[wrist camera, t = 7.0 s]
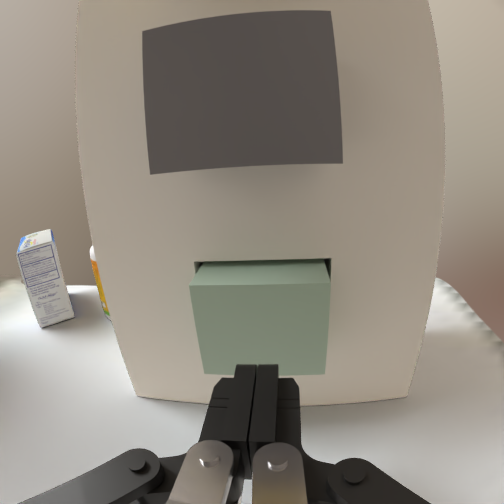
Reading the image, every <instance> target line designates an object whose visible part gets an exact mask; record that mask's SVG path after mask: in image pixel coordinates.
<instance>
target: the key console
mask: <svg viewBox="0 0 504 504" xmlns="http://www.w3.org/2000/svg"><path fill="white" fill-rule="evenodd" d="M287 10H323V11H331V16H332V24H333V32H334V40H335V49H336V58H337V69H338V80H339V92H340V107H341V124H342V146H343V164H286V165H262V166H244V167H228V168H215V169H202V170H191V171H181V172H171V173H162V174H153V175H150V169H149V159H148V148H147V137H146V123H145V108H144V89H143V58H142V31H145V30H149V29H153V28H157V27H161V26H166V25H170V24H175V23H180V22H185V21H191V20H196V19H202V18H209V17H215V16H223V15H231V14H240V13H251V12H265V11H287ZM75 53H76V54H75V97H76V120H77V134H78V147H79V158H80V166H81V175H82V183H83V190H84V197H85V203H86V209H87V216H88V221H89V228H90V233H91V238H92V243H93V248H94V253H95V258H96V262H97V267H98V271H99V275H100V279H101V284H102V288H103V292H104V295H105V299H106V303H107V307H108V310H109V314H110V317H111V321H112V324H113V328H114V331H115V334H116V337H117V341H118V344H119V347H120V350H121V353H122V356H123V359H124V362H125V365H126V368H127V371H128V374H129V376H130V379H131V382H132V385H133V387H134V390H135V392H136V395H137V396H140V397H147V398H155V399H163V400H171V401H181V402H191V403H203V404H209V402H210V399H211V395H212V392H213V388H214V386H215V385H216V384H217V383H218V381H219V380H220V379H221V378H222V377H224V378H234V375H217V374H204V369H203V364H202V359H201V354H200V348H199V343H198V337H197V332H196V326H195V320H194V314H193V308H192V302H191V296H190V289H189V284H190V283H191V281H192V280H193V278H194V276H195V275H196V273H197V272H198V270H199V268H200V267H201V265H202V264H203V262H204V261H244V260H283V259H319V258H323V259H324V262H325V265H326V269H327V272H328V275H329V278H330V282H331V291H330V311H329V328H328V343H327V356H326V367H325V374H321V375H290V376H279V378H294V380H295V381H296V383H297V385H298V386H299V392H300V406H313V405H333V404H347V403H359V402H369V401H379V400H387V399H395V398H402V397H407V394H408V391H409V388H410V385H411V381H412V378H413V375H414V371H415V368H416V364H417V360H418V357H419V353H420V349H421V345H422V341H423V337H424V333H425V328H426V324H427V319H428V315H429V310H430V305H431V299H432V294H433V288H434V282H435V276H436V270H437V263H438V255H439V248H440V239H441V229H442V218H443V204H444V186H445V123H444V107H443V92H442V82H441V73H440V64H439V57H438V50H437V44H436V38H435V32H434V27H433V21H432V17H431V12H430V7H429V3H428V0H79V5H78V16H77V30H76V52H75Z"/></svg>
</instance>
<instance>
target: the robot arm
mask: <svg viewBox="0 0 504 504" xmlns="http://www.w3.org/2000/svg"><path fill="white" fill-rule="evenodd" d="M252 472H253V479H252ZM244 479H252V504H431V503H429V502H427V501H426V500H424V499H423V498H421V497H420V496H418V495H417V494H415V493H414V492H412V491H410V490H409V489H407V488H406V487H404V486H403V485H402V484H400V483H399V482H397V481H396V480H394V479H393V478H391V477H390V476H388V475H387V474H386V473H384V472H383V471H381V470H380V469H379V468H377V467H376V466H374V465H373V464H372V463H370V462H368V461H366V460H364V459H360V458H349V459H345V460H342V461H340V462H338V463H337V464H330V463H325V462H320V461H317V460H315V459H313V458H311V457H309V456H308V455H307V454H306V453H305V452H304V450H303V448H302V445H301V421H300V392H299V386H298V385H297V383H296V381H295V380H294V378H279V365H278V364H258V367H257V364H237V365H236V368H235V373H234V378H224V377H222V378H221V379H220V380H219V381H218V383H217V384H216V385H215V386H214V388H213V392H212V395H211V399H210V402H209V408H208V410H207V413H206V417H205V421H204V424H203V428H202V432H201V435H200V439H199V441H198V443H196V444H195V445H193V446H192V447H191V448H190V449H189V450H188V452H187V453H185V454H183V455H179V456H173V457H165V458H158V457H157V456H156V455H155V454H154V453H153V452H151V451H149V450H147V449H140V448H139V449H132V450H129V451H127V452H125V453H123V454H121V455H119V456H117V457H116V458H114V459H112V460H110V461H108V462H106V463H104V464H102V465H100V466H99V467H97V468H95V469H93V470H91V471H89V472H87V473H85V474H83V475H81V476H79V477H77V478H75V479H72V480H70V481H68V482H66V483H64V484H62V485H60V486H58V487H55V488H53V489H51V490H49V491H46V492H44V493H42V494H40V495H37V496H35V497H32V498H30V499H28V500H25V501H23V502H20V503H18V504H241V499H242V490H243V483H244Z"/></svg>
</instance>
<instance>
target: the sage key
mask: <svg viewBox="0 0 504 504" xmlns="http://www.w3.org/2000/svg"><path fill="white" fill-rule="evenodd" d="M189 289H190V296H191V302H192V308H193V314H194V320H195V326H196V332H197V337H198V343H199V348H200V354H201V359H202V364H203V369H204V374H217V375H234V373H235V368H236V365H237V364H257V367H258V364H278V365H279V376H290V375H321V374H325V367H326V356H327V343H328V328H329V311H330V291H331V282H330V278H329V275H328V272H327V269H326V265H325V262H324V259H323V258H319V259H283V260H244V261H204V262H203V264H202V265H201V267H200V268H199V270H198V272H197V273H196V275H195V276H194V278H193V280H192V281H191V283H190V284H189Z"/></svg>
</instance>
